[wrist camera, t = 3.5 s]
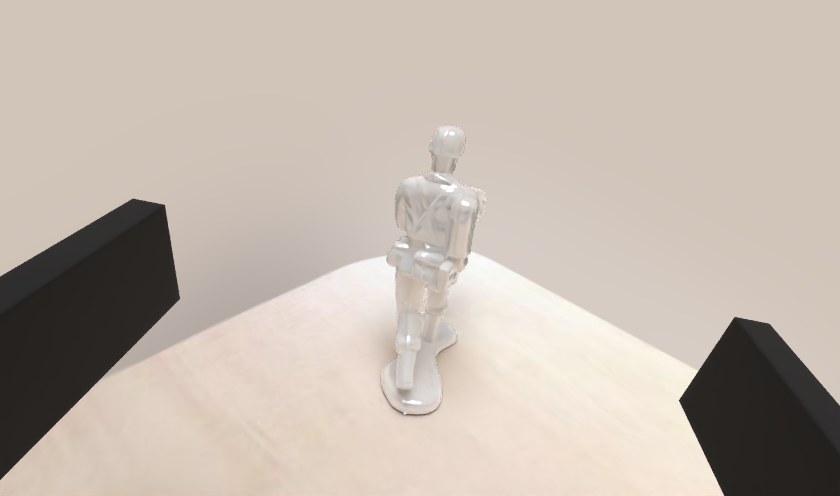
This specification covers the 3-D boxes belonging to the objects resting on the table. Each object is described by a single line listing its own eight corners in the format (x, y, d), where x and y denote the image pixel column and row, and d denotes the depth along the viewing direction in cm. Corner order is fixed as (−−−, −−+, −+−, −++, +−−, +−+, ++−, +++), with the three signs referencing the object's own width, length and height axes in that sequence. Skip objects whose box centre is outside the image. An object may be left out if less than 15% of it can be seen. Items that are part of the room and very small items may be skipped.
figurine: (361, 408, 20) (393, 159, 14) (386, 289, 28) (413, 96, 22) (464, 424, 20) (541, 184, 14) (460, 301, 28) (508, 112, 22)
